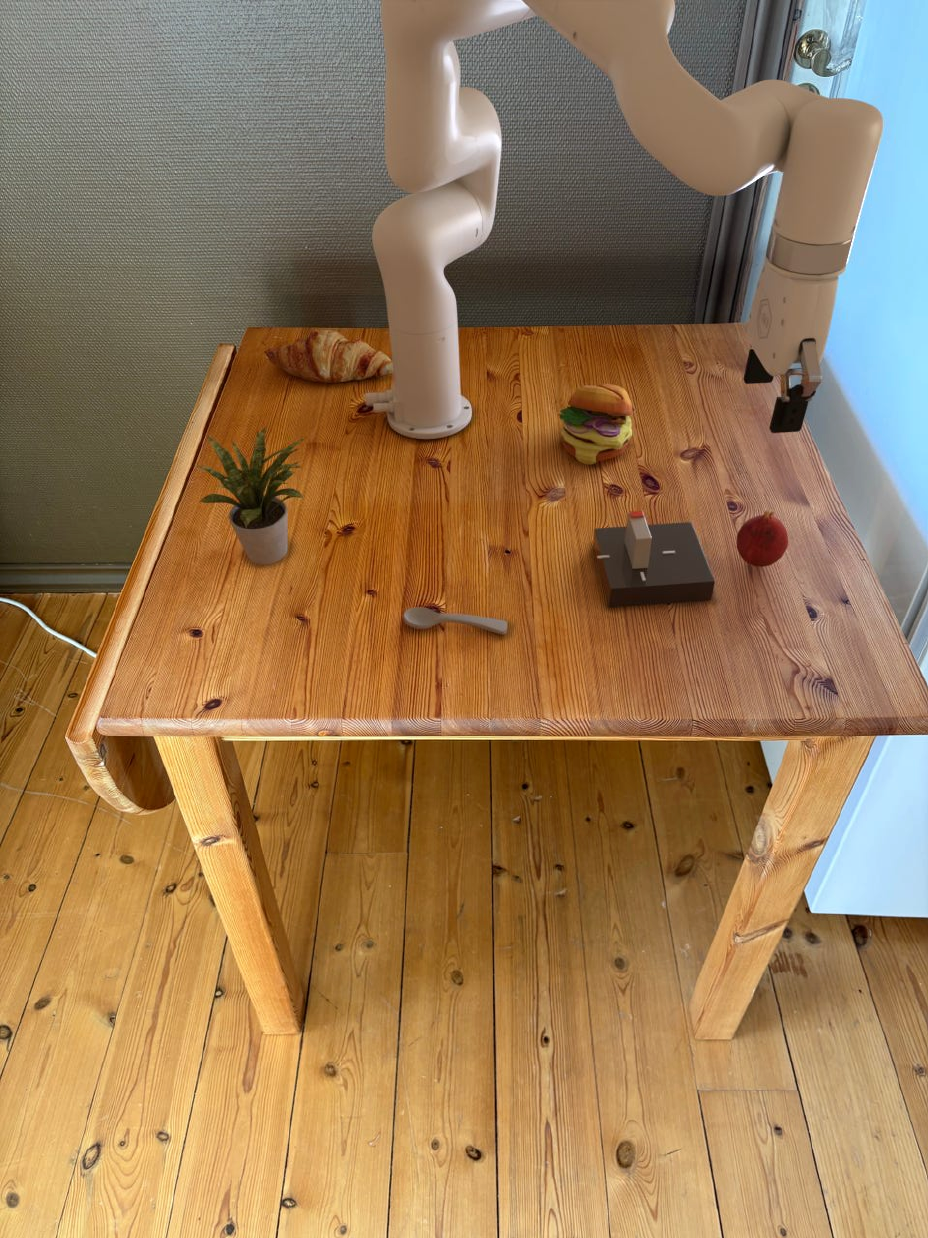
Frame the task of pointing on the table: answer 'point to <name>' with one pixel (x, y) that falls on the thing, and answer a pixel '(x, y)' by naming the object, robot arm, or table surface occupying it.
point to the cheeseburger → (597, 423)
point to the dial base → (654, 567)
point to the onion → (762, 540)
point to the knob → (638, 539)
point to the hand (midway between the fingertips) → (770, 405)
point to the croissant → (330, 358)
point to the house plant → (256, 499)
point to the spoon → (451, 620)
